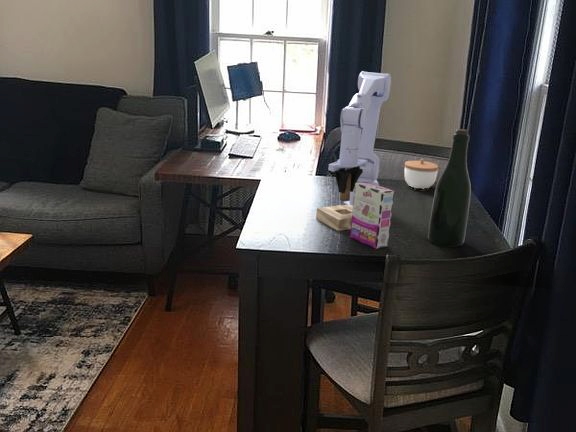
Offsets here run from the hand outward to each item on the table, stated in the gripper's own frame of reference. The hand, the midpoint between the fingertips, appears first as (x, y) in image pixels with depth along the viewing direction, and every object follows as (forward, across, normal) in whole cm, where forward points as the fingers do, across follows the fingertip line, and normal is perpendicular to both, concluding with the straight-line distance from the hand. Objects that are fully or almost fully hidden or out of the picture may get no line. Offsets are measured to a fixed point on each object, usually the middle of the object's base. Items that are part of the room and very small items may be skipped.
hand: (345, 191), depth 193 cm
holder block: (+10, 0, 0) cm, 10 cm away
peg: (+3, 0, 0) cm, 3 cm away
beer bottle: (+10, -15, +28) cm, 33 cm away
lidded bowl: (+10, -56, -16) cm, 59 cm away
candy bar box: (+10, +6, +16) cm, 20 cm away
